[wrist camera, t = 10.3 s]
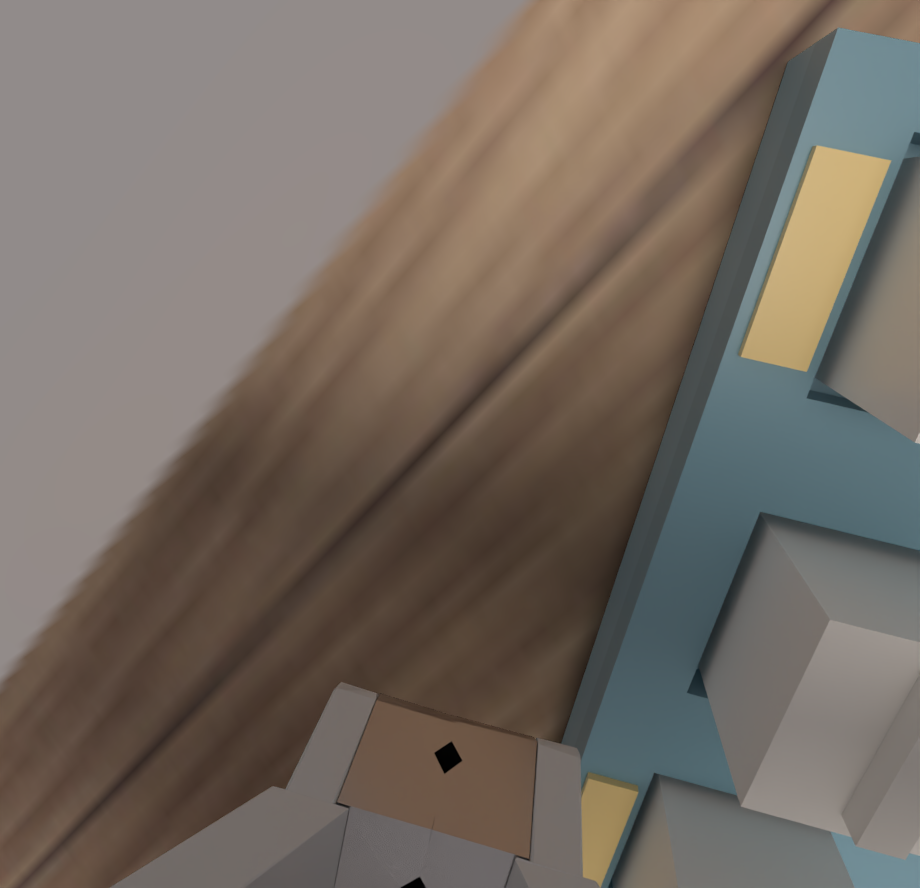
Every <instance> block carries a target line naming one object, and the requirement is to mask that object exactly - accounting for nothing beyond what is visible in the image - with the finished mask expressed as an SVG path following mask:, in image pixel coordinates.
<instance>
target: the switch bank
mask: <svg viewBox="0 0 920 888" xmlns="http://www.w3.org/2000/svg"><path fill="white" fill-rule="evenodd" d="M918 156H920V43H915V42H910V41H905V40H900V39H895V38H889V37H884V36H879V35H874V34H869V33H863V32H858V31H853V30H848V29H843V28H837V29H835V30H834V31H833V32H831V33H830V34H828V35H827V36H825V37H824V38H822V39H821V40H819V41H818V42H816V43H815V44H813V45H812V46H810V47H809V48H807V49H806V50H805V51H803V52H802V53H800V54H799V55H797V56H796V57H794V58H793V59H791V60H790V61H788V63H787V66H786V69H785V72H784V75H783V78H782V81H781V84H780V87H779V90H778V93H777V96H776V99H775V102H774V105H773V108H772V111H771V114H770V117H769V120H768V123H767V126H766V129H765V132H764V135H763V138H762V141H761V144H760V147H759V150H758V153H757V156H756V159H755V162H754V165H753V168H752V171H751V174H750V177H749V180H748V183H747V186H746V189H745V192H744V195H743V198H742V201H741V204H740V207H739V210H738V213H737V216H736V219H735V222H734V225H733V228H732V231H731V234H730V237H729V240H728V243H727V246H726V249H725V252H724V255H723V258H722V261H721V264H720V267H719V270H718V273H717V276H716V279H715V282H714V285H713V288H712V291H711V294H710V297H709V300H708V303H707V306H706V309H705V312H704V315H703V318H702V321H701V325H700V328H699V331H698V334H697V337H696V340H695V343H694V346H693V349H692V352H691V355H690V358H689V361H688V364H687V367H686V370H685V373H684V376H683V379H682V382H681V385H680V388H679V391H678V394H677V397H676V400H675V403H674V406H673V409H672V412H671V415H670V418H669V421H668V424H667V427H666V430H665V433H664V436H663V439H662V442H661V445H660V448H659V451H658V454H657V457H656V460H655V463H654V466H653V469H652V472H651V475H650V478H649V481H648V484H647V487H646V490H645V493H644V496H643V499H642V502H641V505H640V508H639V511H638V514H637V517H636V520H635V523H634V526H633V529H632V532H631V535H630V538H629V541H628V544H627V547H626V550H625V553H624V556H623V559H622V562H621V565H620V568H619V571H618V574H617V577H616V580H615V583H614V586H613V589H612V592H611V595H610V598H609V601H608V604H607V607H606V610H605V613H604V616H603V619H602V622H601V625H600V628H599V631H598V634H597V637H596V640H595V643H594V646H593V649H592V652H591V655H590V658H589V661H588V664H587V667H586V670H585V673H584V676H583V679H582V682H581V685H580V688H579V691H578V694H577V697H576V700H575V703H574V706H573V709H572V712H571V715H570V718H569V721H568V724H567V727H566V730H565V733H564V736H563V739H562V742H561V744H564V745H568V746H571V747H575V748H577V749H578V751H579V754H580V759H581V809H582V860H583V877H585V878H588V879H591V880H594V881H597V883H598V885H599V887H600V888H613V886H612V876H613V873H614V871H615V869H616V866H617V864H618V861H619V859H620V856H621V854H622V851H623V849H624V846H625V844H626V841H627V839H628V837H629V834H630V832H631V829H632V827H633V824H634V822H635V819H636V817H637V814H638V812H639V809H640V807H641V804H642V802H643V800H644V797H645V795H646V792H647V790H648V787H649V785H650V782H651V780H652V777H653V775H654V773H657V774H660V775H664V776H668V777H671V778H675V779H679V780H682V781H686V782H690V783H693V784H697V785H701V786H704V787H708V788H712V789H715V790H719V791H723V792H726V793H730V794H733V795H737V793H736V789H735V786H734V783H733V779H732V776H731V773H730V769H729V766H728V763H727V759H726V756H725V753H724V749H723V746H722V743H721V739H720V736H719V733H718V729H717V726H716V723H715V719H714V716H713V713H712V709H711V706H710V703H709V699H708V696H707V693H706V689H705V686H704V683H703V679H702V676H701V673H700V669H699V666H698V664H699V662H700V659H701V657H702V654H703V652H704V649H705V647H706V644H707V642H708V639H709V637H710V634H711V632H712V629H713V627H714V625H715V622H716V620H717V617H718V615H719V612H720V610H721V607H722V605H723V602H724V600H725V597H726V595H727V592H728V590H729V588H730V585H731V583H732V580H733V578H734V575H735V573H736V570H737V568H738V565H739V563H740V560H741V558H742V556H743V553H744V551H745V548H746V546H747V543H748V541H749V538H750V536H751V533H752V531H753V528H754V526H755V523H756V521H757V519H758V516H759V514H760V512H762V513H766V514H771V515H775V516H779V517H783V518H787V519H791V520H795V521H799V522H803V523H807V524H811V525H816V526H820V527H824V528H828V529H832V530H836V531H840V532H844V533H848V534H852V535H857V536H861V537H865V538H869V539H873V540H877V541H881V542H885V543H889V544H893V545H898V546H902V547H906V548H910V549H914V550H918V551H920V444H919V443H915V442H913V441H912V440H910V439H909V438H907V437H905V436H904V435H902V434H901V433H899V432H898V431H896V430H895V429H893V428H892V427H890V426H888V425H887V424H885V423H884V422H882V421H881V420H879V419H878V418H876V417H875V416H873V415H872V414H870V413H868V412H867V411H865V410H864V409H862V408H861V407H859V406H858V405H856V404H855V403H853V402H852V401H850V400H848V399H847V398H845V397H844V396H842V395H841V394H839V393H838V392H836V391H835V390H833V389H831V388H830V387H828V386H827V385H825V384H824V383H822V382H821V381H819V380H818V379H816V378H815V376H816V373H817V371H818V368H819V366H820V363H821V361H822V358H823V356H824V353H825V351H826V348H827V346H828V344H829V341H830V339H831V336H832V334H833V331H834V329H835V326H836V324H837V321H838V319H839V316H840V314H841V311H842V309H843V307H844V304H845V302H846V299H847V297H848V294H849V292H850V289H851V287H852V284H853V282H854V279H855V277H856V275H857V272H858V270H859V267H860V265H861V262H862V260H863V257H864V255H865V252H866V250H867V247H868V245H869V242H870V240H871V238H872V235H873V233H874V230H875V228H876V225H877V223H878V220H879V218H880V215H881V213H882V210H883V208H884V205H885V203H886V201H887V198H888V196H889V193H890V191H891V188H892V186H893V183H894V181H895V178H896V176H897V173H898V171H899V169H900V166H901V164H902V161H903V159H906V158H912V157H918ZM830 832H831V831H830ZM831 834H832V836H833V839H834V841H835V843H836V846H837V848H838V850H839V852H840V855H841V857H842V859H843V862H844V864H845V866H846V869H847V871H848V873H849V876H850V878H851V880H852V883H853V885H854V887H855V888H920V856H918V855H915V854H911V853H909V855H908V856H907V858H906V860H903V859H900V858H896V857H893V856H889V855H885V854H882V853H878V852H875V851H871V850H867V849H864V848H860V847H856V846H855V844H854V842H853V839H852V837H849V836H846V835H842V834H838V833H835V832H831Z"/></svg>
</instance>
